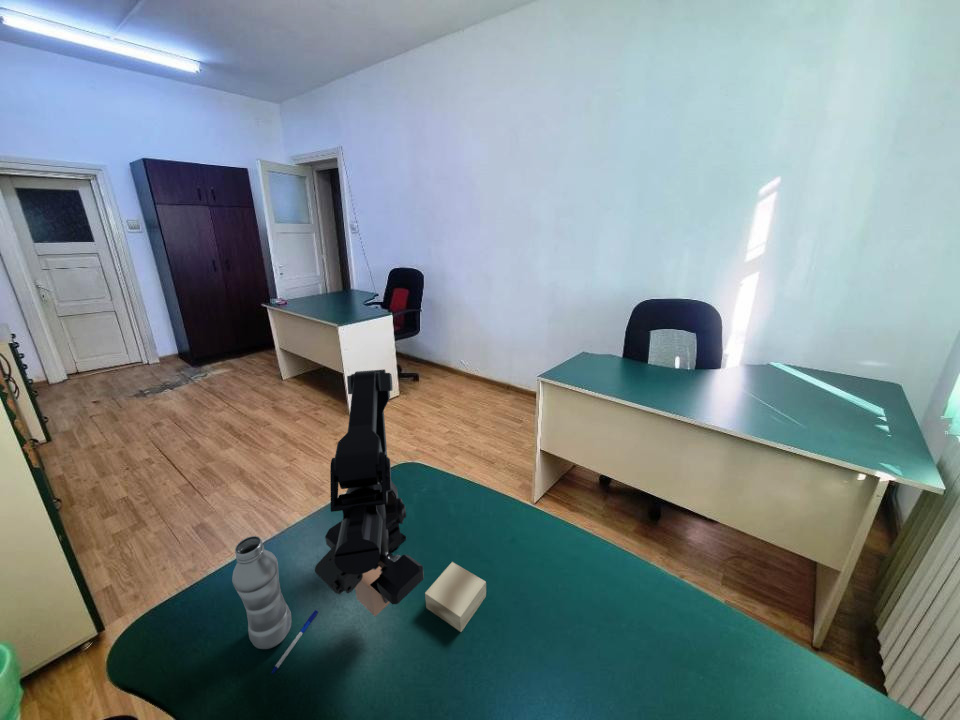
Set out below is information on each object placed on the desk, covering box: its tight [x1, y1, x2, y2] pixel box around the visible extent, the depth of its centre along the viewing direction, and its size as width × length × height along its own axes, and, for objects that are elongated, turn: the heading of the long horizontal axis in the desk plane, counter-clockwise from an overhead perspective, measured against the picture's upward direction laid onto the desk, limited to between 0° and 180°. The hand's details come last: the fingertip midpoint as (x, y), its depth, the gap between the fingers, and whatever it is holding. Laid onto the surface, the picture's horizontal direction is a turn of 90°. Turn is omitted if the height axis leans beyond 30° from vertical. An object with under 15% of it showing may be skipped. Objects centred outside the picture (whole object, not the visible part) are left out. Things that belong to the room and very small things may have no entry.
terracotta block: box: [354, 567, 390, 617], centre depth 63 cm, size 5×5×6 cm
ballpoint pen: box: [270, 609, 318, 674], centre depth 63 cm, size 10×1×1 cm, turn 165°
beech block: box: [424, 561, 487, 633], centre depth 69 cm, size 8×8×4 cm
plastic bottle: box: [231, 535, 292, 650], centre depth 61 cm, size 6×7×20 cm
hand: (377, 591), depth 64 cm, fingers closed on terracotta block, 5 cm apart
